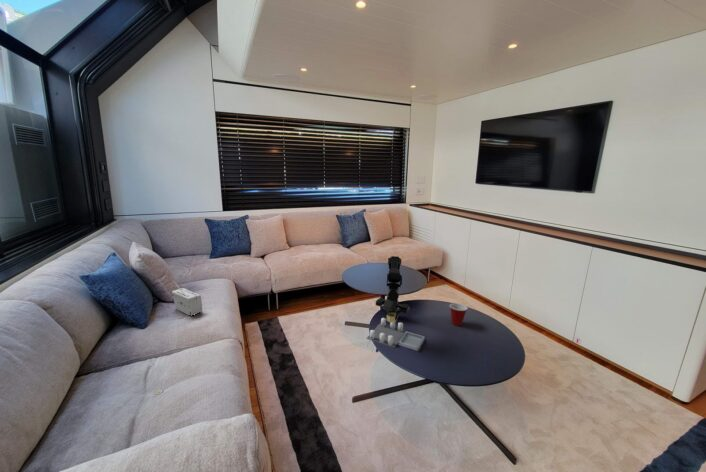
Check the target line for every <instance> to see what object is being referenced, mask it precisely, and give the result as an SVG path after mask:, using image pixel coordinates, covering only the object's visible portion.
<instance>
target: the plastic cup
mask: <svg viewBox="0 0 706 472" xmlns="http://www.w3.org/2000/svg"><path fill="white" fill-rule="evenodd" d="M449 308H450V309H449V310H450V317H451V324H452V325H453V326H456V327H460V326H462V325H463V321H464V318H465V316H466V313H467V310H468V309H469V308H468V306H467V305H464V304H462V303H450V304H449Z"/></svg>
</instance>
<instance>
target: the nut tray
mask: <svg viewBox="0 0 706 472" xmlns="http://www.w3.org/2000/svg"><path fill="white" fill-rule="evenodd" d="M424 341H425V336H423V335H421V334H417V333H415V332H414V333H413V332H410V331H407V330H406V332H405V333H404V334H403V336H402V337H401V339H400V340H399V342H398V343H397V345H398V346H401V347H404V348H406V349H410V350H413V351H416V352H419V350H420V349H421V347H422V345H423V344H424Z"/></svg>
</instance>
